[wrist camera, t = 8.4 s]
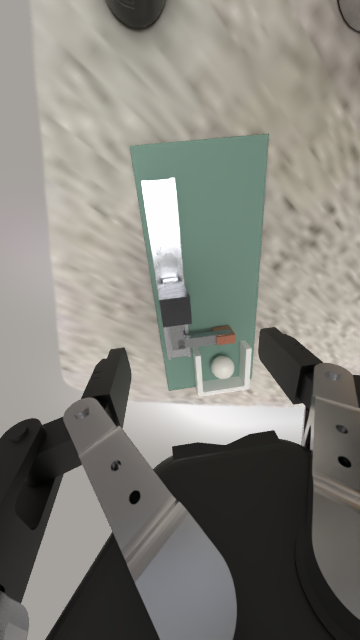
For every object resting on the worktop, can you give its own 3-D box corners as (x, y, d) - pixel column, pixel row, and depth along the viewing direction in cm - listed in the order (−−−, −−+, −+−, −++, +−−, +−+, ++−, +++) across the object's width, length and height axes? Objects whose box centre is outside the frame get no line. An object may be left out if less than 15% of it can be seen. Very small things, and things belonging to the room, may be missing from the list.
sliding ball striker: (229, 269, 33) (256, 286, 24) (228, 333, 38) (251, 367, 29) (158, 278, 32) (158, 298, 23) (167, 342, 37) (170, 379, 28)
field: (267, 135, 27) (268, 133, 26) (250, 377, 44) (251, 378, 44) (130, 147, 26) (129, 145, 25) (168, 389, 43) (168, 390, 43)
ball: (229, 350, 41) (237, 359, 36) (230, 371, 42) (238, 381, 37) (207, 353, 40) (213, 362, 36) (209, 374, 41) (215, 385, 37)
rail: (174, 180, 27) (175, 177, 26) (189, 352, 39) (191, 357, 38) (141, 183, 27) (140, 180, 26) (167, 355, 39) (167, 360, 38)
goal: (245, 340, 39) (251, 348, 37) (243, 378, 44) (249, 389, 41) (192, 347, 39) (195, 356, 36) (195, 386, 43) (198, 396, 40)
